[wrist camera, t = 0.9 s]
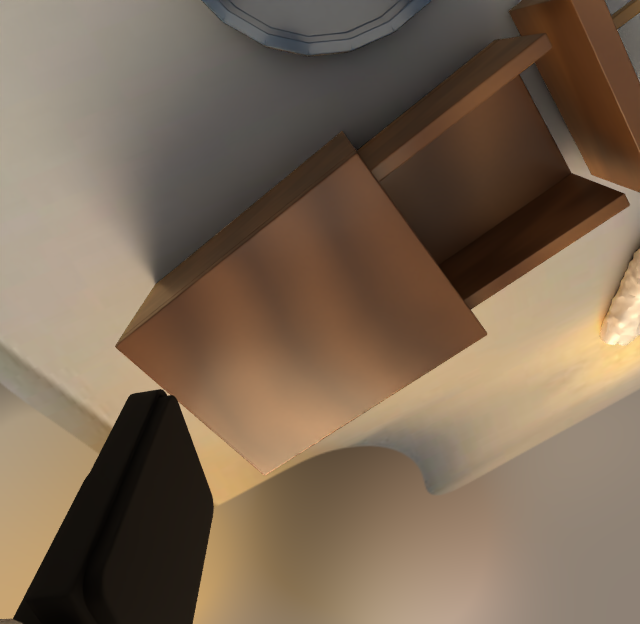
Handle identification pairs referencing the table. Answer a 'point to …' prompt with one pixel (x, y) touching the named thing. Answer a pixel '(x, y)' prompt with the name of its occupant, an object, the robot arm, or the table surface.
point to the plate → (315, 22)
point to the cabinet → (300, 313)
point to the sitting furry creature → (624, 308)
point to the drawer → (516, 147)
